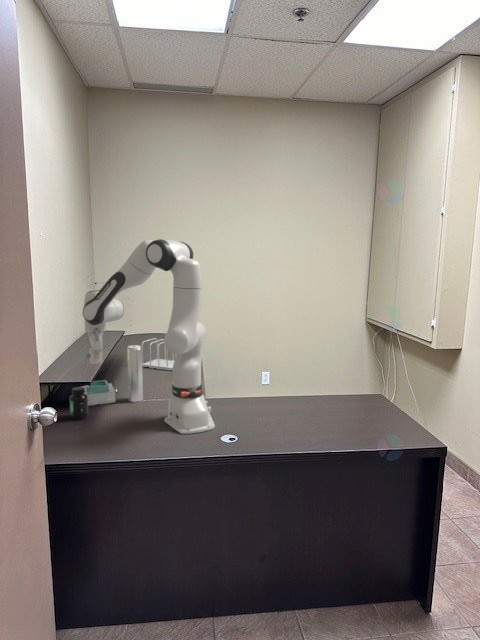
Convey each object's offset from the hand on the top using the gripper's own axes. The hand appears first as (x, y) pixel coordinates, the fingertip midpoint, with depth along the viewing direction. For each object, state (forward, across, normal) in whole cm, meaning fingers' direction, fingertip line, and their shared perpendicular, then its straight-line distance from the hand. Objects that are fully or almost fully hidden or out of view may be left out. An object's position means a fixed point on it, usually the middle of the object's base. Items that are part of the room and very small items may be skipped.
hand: (96, 357), depth 185 cm
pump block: (+2, 0, 0) cm, 2 cm away
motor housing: (+20, +1, 0) cm, 20 cm away
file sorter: (+20, +49, -45) cm, 69 cm away
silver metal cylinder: (+20, -6, -16) cm, 26 cm away
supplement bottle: (+20, -18, +9) cm, 28 cm away
